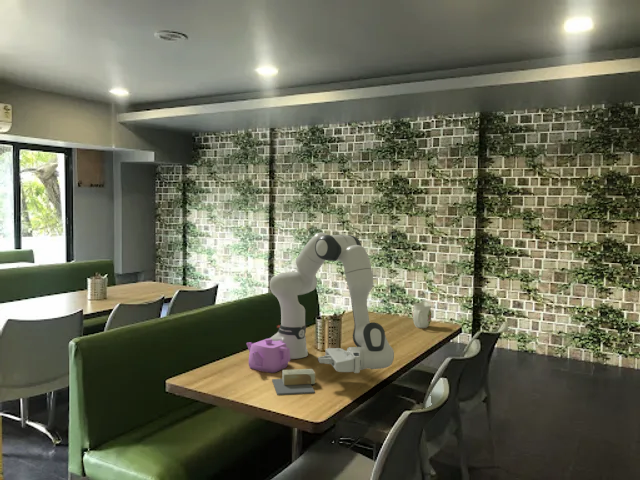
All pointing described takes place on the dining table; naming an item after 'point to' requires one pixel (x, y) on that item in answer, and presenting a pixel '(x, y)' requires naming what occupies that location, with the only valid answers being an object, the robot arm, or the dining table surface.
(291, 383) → the skincare box
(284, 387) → the mat
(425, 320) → the pitcher
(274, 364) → the teakettle
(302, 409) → the dining table surface
